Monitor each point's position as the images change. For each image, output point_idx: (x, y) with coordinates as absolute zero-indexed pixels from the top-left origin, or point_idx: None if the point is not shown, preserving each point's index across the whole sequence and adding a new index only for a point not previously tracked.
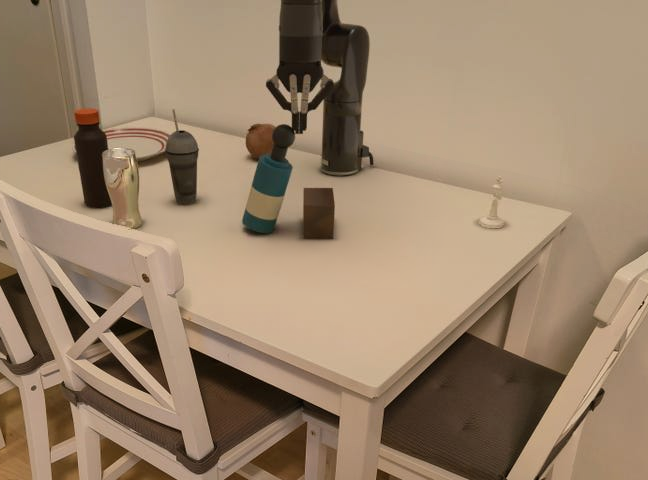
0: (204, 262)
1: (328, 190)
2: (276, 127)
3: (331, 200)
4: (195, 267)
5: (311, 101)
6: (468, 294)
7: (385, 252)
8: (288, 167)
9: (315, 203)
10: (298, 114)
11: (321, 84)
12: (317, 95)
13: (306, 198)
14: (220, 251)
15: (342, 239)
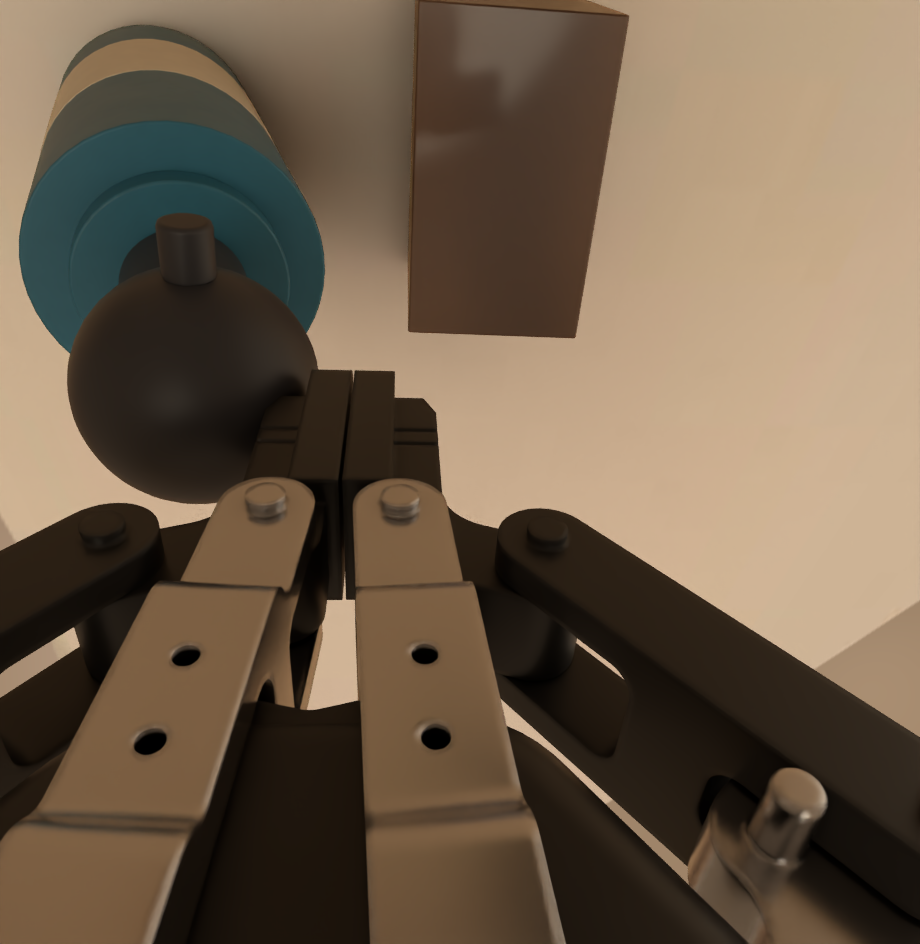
0: (24, 466)
1: (588, 77)
2: (97, 447)
3: (572, 264)
4: (6, 500)
5: (517, 585)
6: (841, 635)
7: (724, 397)
8: (291, 288)
9: (474, 310)
10: (332, 596)
11: (721, 911)
12: (625, 660)
13: (428, 227)
14: (53, 378)
15: (587, 271)
